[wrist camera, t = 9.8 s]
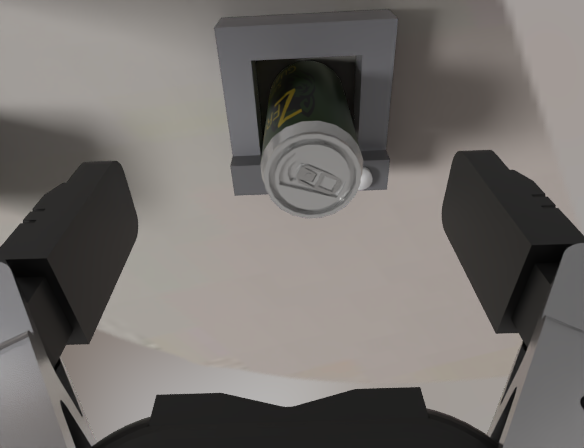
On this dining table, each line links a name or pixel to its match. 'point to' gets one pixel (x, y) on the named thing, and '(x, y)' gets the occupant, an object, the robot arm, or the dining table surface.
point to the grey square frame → (307, 44)
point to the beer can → (310, 143)
